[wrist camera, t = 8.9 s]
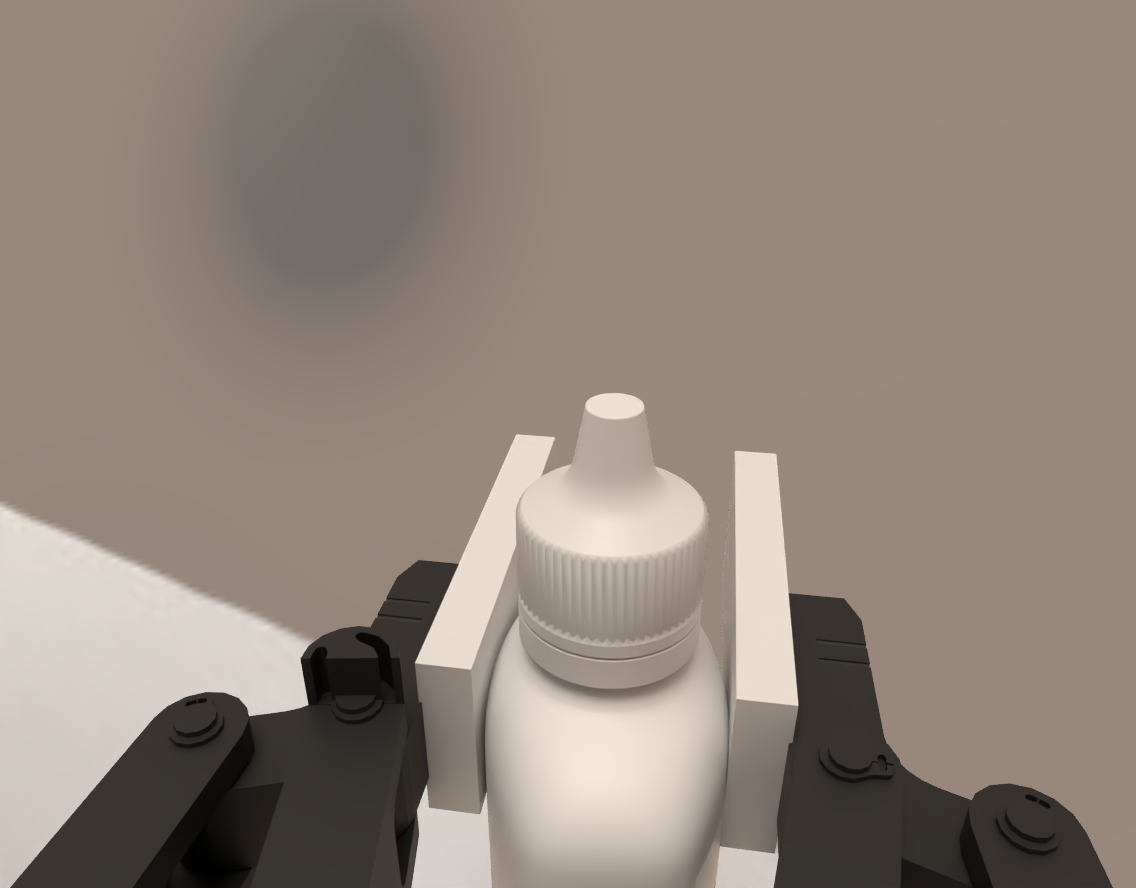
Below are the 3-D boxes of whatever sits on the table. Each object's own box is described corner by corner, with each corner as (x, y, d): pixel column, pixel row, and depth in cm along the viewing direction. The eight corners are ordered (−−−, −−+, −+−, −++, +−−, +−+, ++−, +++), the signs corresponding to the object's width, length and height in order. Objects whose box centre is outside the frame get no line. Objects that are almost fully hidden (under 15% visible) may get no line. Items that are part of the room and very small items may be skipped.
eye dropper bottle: (770, 940, 18) (865, 363, 12) (633, 1252, 13) (680, 589, 8) (575, 839, 20) (577, 304, 14) (402, 1082, 15) (305, 457, 10)
